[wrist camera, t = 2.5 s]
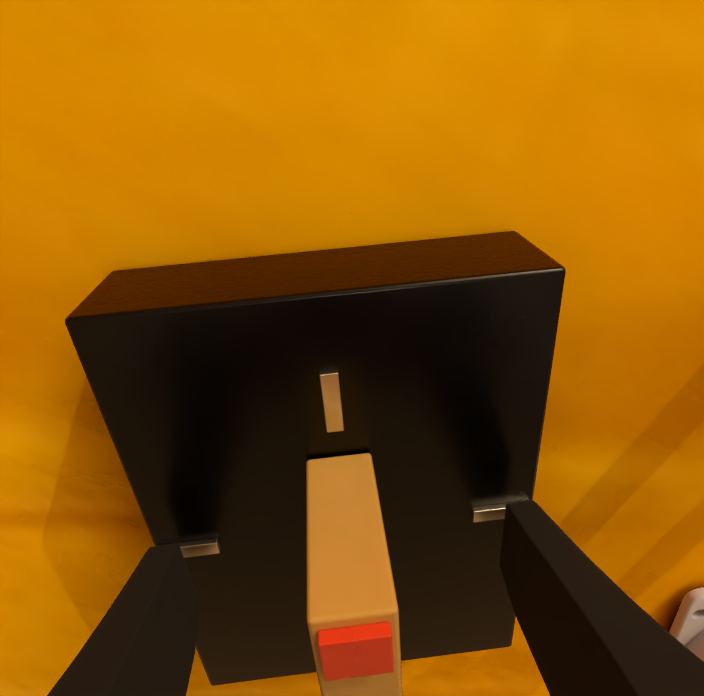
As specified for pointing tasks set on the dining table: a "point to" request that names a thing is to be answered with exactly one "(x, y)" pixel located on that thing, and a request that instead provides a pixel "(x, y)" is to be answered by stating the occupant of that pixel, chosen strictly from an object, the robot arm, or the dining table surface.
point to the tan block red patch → (350, 581)
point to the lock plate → (330, 425)
